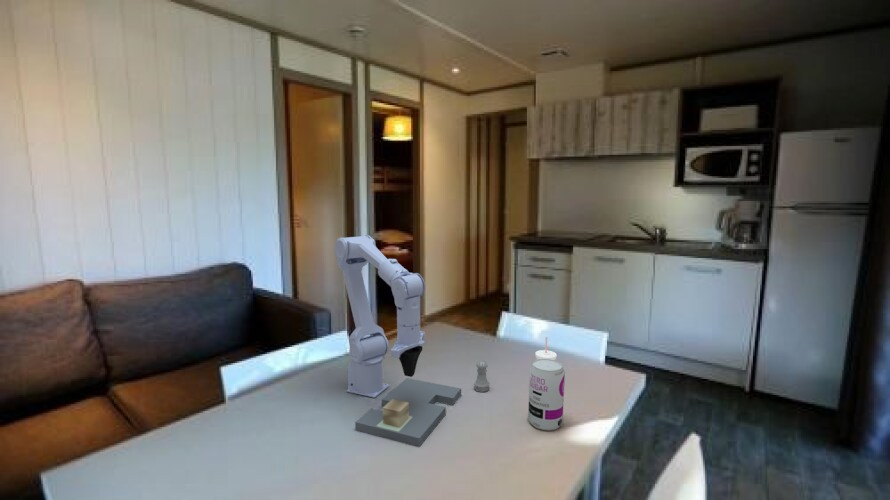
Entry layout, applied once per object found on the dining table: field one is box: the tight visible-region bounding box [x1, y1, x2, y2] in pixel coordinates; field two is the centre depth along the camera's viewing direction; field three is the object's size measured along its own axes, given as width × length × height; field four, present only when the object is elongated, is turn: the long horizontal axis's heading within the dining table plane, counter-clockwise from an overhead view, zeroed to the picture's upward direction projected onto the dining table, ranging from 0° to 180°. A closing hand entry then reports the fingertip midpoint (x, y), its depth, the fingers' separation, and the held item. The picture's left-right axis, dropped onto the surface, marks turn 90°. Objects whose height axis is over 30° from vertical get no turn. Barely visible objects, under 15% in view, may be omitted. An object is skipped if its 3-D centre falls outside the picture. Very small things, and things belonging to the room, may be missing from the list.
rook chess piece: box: [473, 360, 490, 393], centre depth 123 cm, size 4×4×8 cm
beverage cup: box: [534, 336, 557, 361], centre depth 126 cm, size 6×6×14 cm
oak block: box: [382, 399, 409, 428], centre depth 103 cm, size 4×4×4 cm
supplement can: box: [527, 359, 566, 432], centre depth 105 cm, size 8×8×15 cm
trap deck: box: [354, 377, 462, 447], centre depth 111 cm, size 17×26×2 cm, turn 157°
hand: (409, 375), depth 108 cm, fingers closed
